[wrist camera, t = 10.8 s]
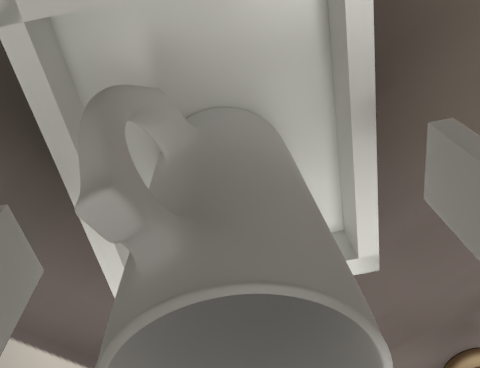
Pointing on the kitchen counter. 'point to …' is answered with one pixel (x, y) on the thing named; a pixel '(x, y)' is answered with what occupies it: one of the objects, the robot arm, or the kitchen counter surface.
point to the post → (465, 359)
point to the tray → (214, 88)
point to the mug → (216, 245)
